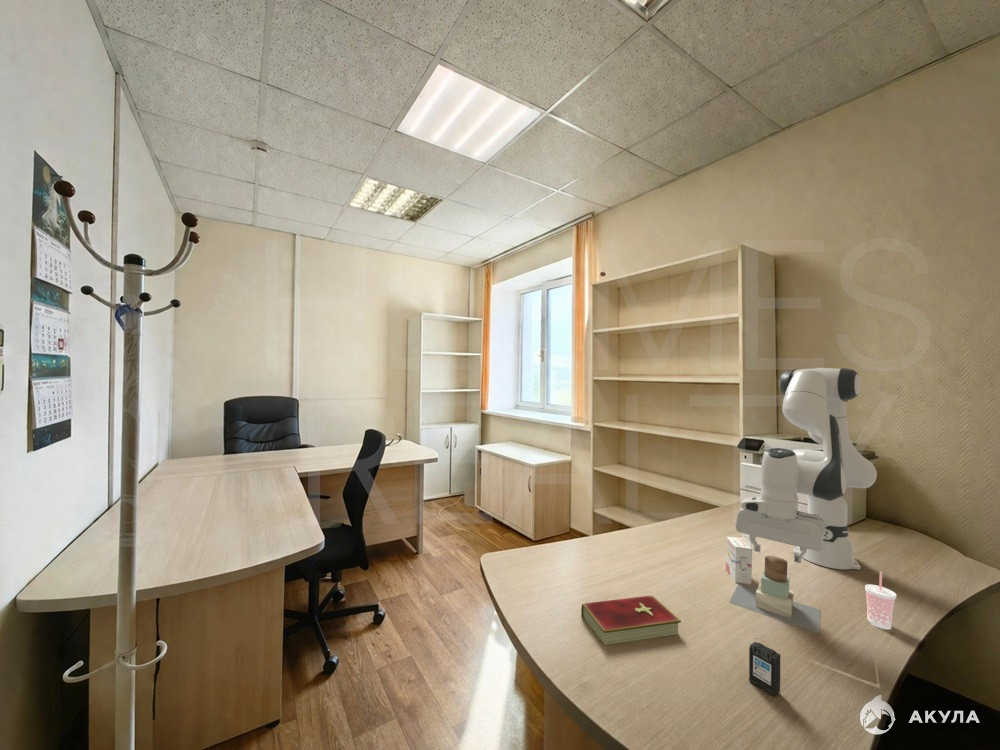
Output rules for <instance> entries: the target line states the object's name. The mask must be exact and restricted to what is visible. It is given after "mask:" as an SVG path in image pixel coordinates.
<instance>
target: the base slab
mask: <svg viewBox="0 0 1000 750" xmlns="http://www.w3.org/2000/svg"><path fill="white" fill-rule="evenodd" d="M794 594H795V591H793V590H790V589H789V594H788V598H787V600H784V599H781V598H778V597H775V596H772V595H769V594H765V593H762V592H761V580H760V582H759V583H758V587H757V591H756V607H759V608H762V609H765V610H768V611H771V612H774V613H776V614H779V615H782V616H785V617H788V618H791V615H792V610H793V602H795V601H794V598H795V595H794Z"/></svg>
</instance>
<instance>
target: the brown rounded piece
mask: <svg viewBox="0 0 1000 750" xmlns="http://www.w3.org/2000/svg"><path fill="white" fill-rule="evenodd" d="M764 570H765V573H764V575H765V577H767V578H768V579H770V580H773V581H776V582H787V577H788V561H787V560H786V559H784V558H781V557H779V556H775V555H765V557H764Z"/></svg>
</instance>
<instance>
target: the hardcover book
mask: <svg viewBox="0 0 1000 750" xmlns="http://www.w3.org/2000/svg"><path fill="white" fill-rule="evenodd" d="M580 607H581V609H580V610H581V612H580V613H581V614H580V615H581V618H584V620H585V621H586V622H587V624H588V625H589V626H590V628H591V629H592V630H593V632H594V633H595V634H596V636H597V637H598V638H599V640H600V641H601V642H602V643H603V645H612V644H618V643H626V642H633V641H640V640H646V639H651V638H652V639H653V638H660V637H666V636H673V635H679V624H680V623H681V622H682V621H681V619H680V618H678V616H676V615H675V614H674V613H673V612H672V611H670V610H669V609H668V608H667V607H666V606H665V605H663V604H662V603H661V602H660V601H659V600H658V599H657V598H656V597H655V596H654V595H653V594H651V595H643V596H634V597H627V598H619V599H618V598H617V599H610V600H602V601H601V600H600V601H593V602H586V603H585V602H584V603H582V604H581V606H580Z"/></svg>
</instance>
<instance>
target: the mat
mask: <svg viewBox="0 0 1000 750" xmlns="http://www.w3.org/2000/svg"><path fill="white" fill-rule="evenodd" d="M756 591H757V589H756V588H753V587H750V586H747V585H743V584H742V583H738V584H737V586H736V588H735V589H734V592H733V593H732V596H731V598H730V599H729V600H728V603H729V604H732V605H735V606H738V607H740V608H744V609H747V610H749V611H752V612H755V613H758V614H762V615H763V616H767V617H769V618H772V619H775V620H777V621H781V622H783V623H786V624H790V625H792V626H795V627H798V628H801V629H803V630H807V631H810V632H812V633H815V634H818V635H819V634H820V628H821V627H820V625H821V614H822V613H821V612H822V609H819V608H816V607H812V606H809V605H806V604H803V603H801V602H797V601H794V602H793V610H792V615H791V618H788V617H785V616H782V615H779V614H776V613H774V612H771V611H768V610H765V609H762V608H759V607H756Z"/></svg>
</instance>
